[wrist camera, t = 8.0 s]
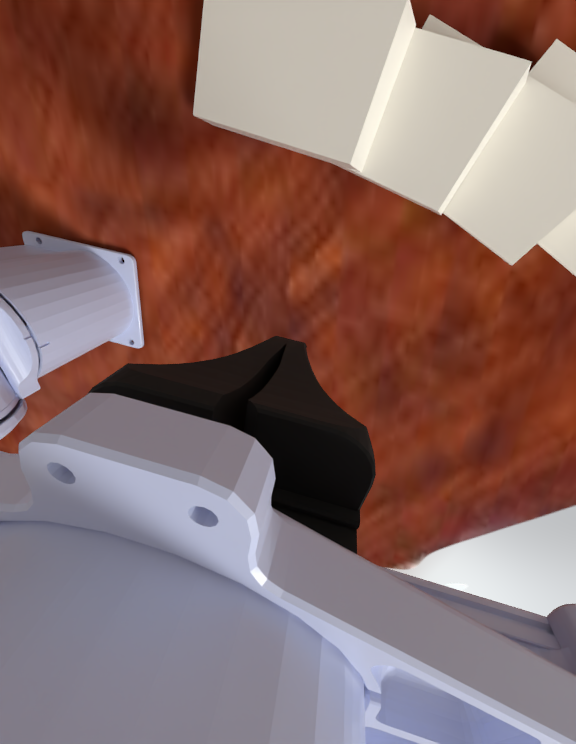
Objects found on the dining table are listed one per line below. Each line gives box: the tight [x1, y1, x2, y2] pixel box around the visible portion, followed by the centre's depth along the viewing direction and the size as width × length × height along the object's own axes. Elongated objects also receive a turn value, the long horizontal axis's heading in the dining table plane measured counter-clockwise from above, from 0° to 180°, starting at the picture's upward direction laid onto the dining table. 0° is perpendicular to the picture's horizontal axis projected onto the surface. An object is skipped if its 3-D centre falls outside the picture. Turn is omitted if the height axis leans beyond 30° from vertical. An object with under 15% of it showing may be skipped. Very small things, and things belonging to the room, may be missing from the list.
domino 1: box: [193, 0, 416, 172], centre depth 13 cm, size 2×5×10 cm
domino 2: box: [332, 28, 532, 215], centre depth 13 cm, size 2×5×10 cm
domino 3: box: [422, 14, 576, 265], centre depth 13 cm, size 2×5×10 cm
